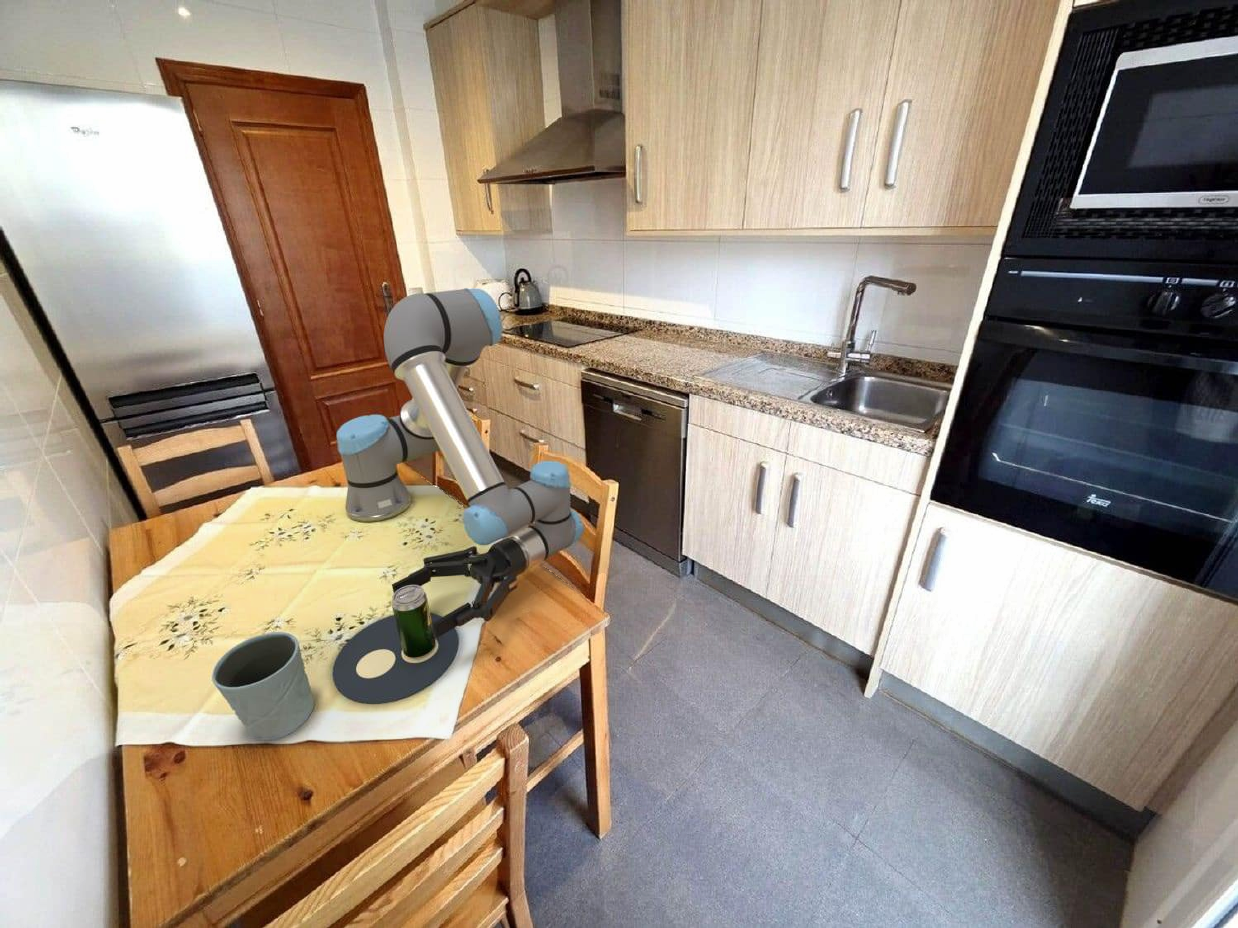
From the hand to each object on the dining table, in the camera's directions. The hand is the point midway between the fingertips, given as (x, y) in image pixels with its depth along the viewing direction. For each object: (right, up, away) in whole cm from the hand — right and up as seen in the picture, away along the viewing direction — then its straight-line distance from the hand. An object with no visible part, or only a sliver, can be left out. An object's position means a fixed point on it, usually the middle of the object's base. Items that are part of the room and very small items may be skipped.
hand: (413, 610), depth 83 cm
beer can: (0, -8, +4) cm, 9 cm away
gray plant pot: (-17, -14, -8) cm, 23 cm away
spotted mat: (-4, -8, +3) cm, 10 cm away
